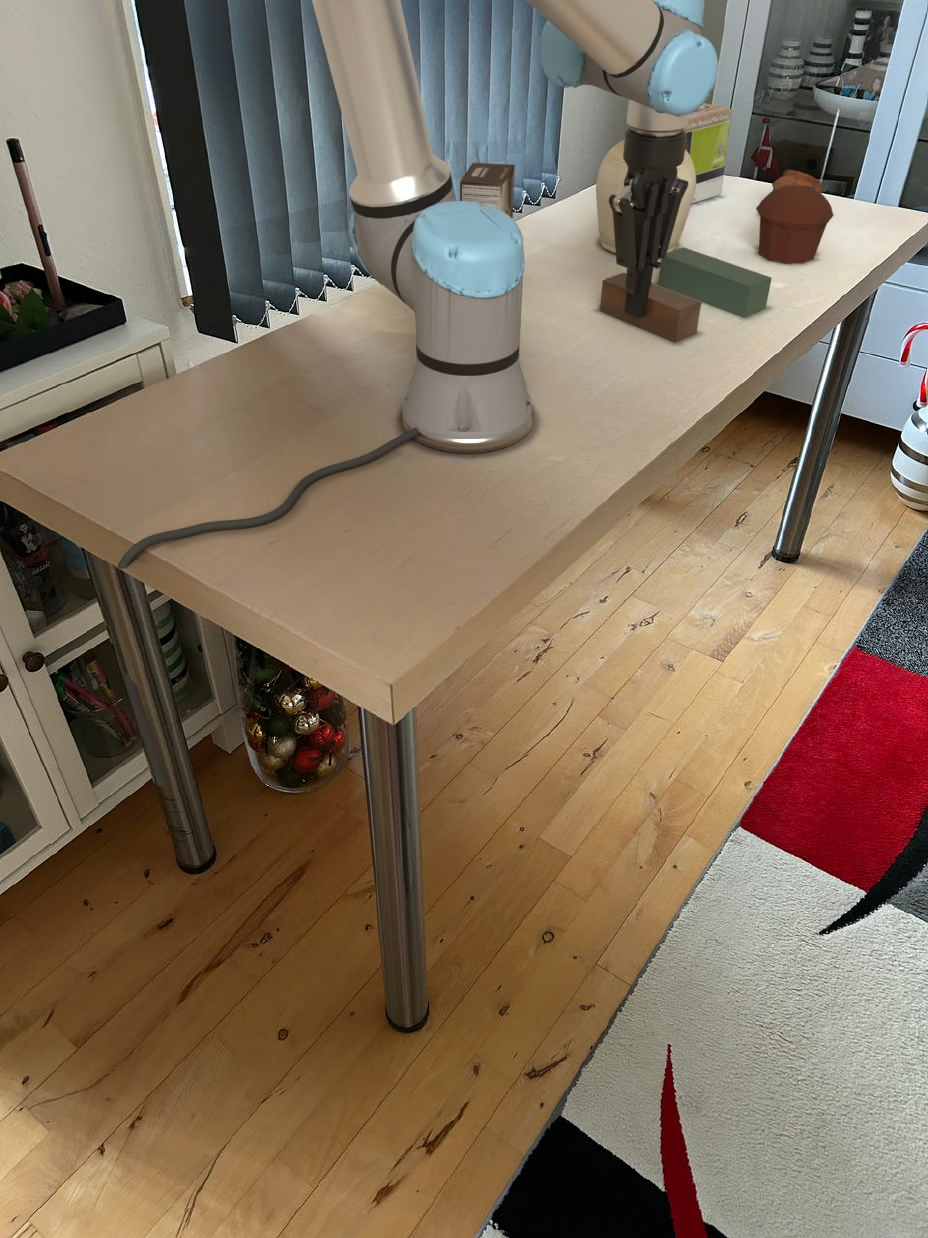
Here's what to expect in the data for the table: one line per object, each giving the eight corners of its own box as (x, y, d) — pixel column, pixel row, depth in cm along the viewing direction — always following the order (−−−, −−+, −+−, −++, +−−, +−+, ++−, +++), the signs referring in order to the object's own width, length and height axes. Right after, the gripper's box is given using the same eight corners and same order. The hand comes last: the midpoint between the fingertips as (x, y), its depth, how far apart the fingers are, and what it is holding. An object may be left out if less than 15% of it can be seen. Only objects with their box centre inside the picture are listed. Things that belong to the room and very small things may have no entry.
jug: (678, 267, 157) (703, 90, 141) (581, 255, 160) (595, 81, 144) (693, 235, 168) (718, 67, 152) (602, 224, 171) (617, 59, 155)
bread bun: (747, 211, 178) (770, 165, 176) (789, 234, 182) (811, 188, 179) (782, 215, 168) (807, 165, 165) (825, 238, 171) (850, 190, 168)
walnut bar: (675, 342, 136) (680, 310, 133) (599, 310, 144) (602, 279, 141) (696, 333, 138) (701, 301, 135) (620, 302, 146) (624, 271, 143)
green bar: (744, 317, 142) (750, 286, 139) (657, 284, 151) (661, 254, 148) (765, 308, 144) (772, 277, 142) (679, 276, 154) (683, 246, 151)
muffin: (824, 245, 164) (839, 181, 158) (823, 269, 156) (839, 203, 149) (750, 238, 167) (761, 174, 160) (745, 262, 158) (758, 196, 152)
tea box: (680, 183, 189) (692, 96, 180) (721, 196, 183) (735, 108, 174) (623, 199, 182) (632, 109, 173) (664, 213, 176) (676, 121, 166)
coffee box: (470, 270, 155) (472, 160, 145) (511, 274, 154) (515, 163, 144) (458, 293, 148) (459, 179, 138) (501, 297, 147) (504, 182, 137)
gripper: (644, 143, 117) (623, 335, 132) (714, 125, 124) (686, 309, 139) (597, 130, 122) (582, 317, 137) (667, 113, 128) (645, 293, 143)
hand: (635, 313), depth 138 cm, fingers closed
